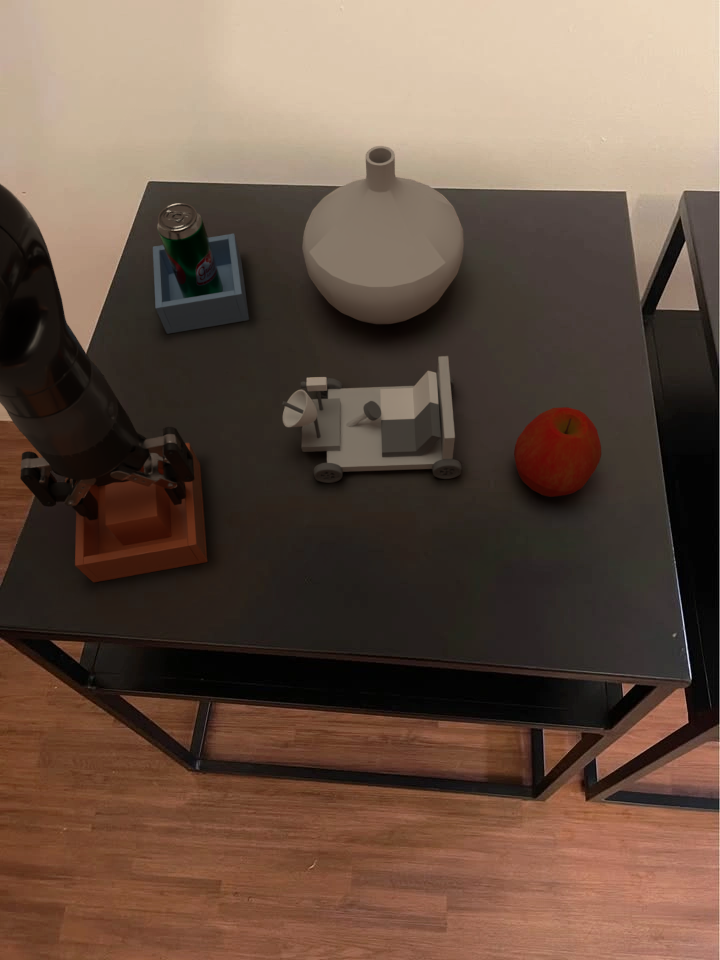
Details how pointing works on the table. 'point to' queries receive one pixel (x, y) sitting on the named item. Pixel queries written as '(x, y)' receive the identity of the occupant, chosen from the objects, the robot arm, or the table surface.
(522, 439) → the apple
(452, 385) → the toy car
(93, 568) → the terracotta bin
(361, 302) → the vase
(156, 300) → the blue bin
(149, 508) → the block
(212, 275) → the soda can
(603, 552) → the table surface
